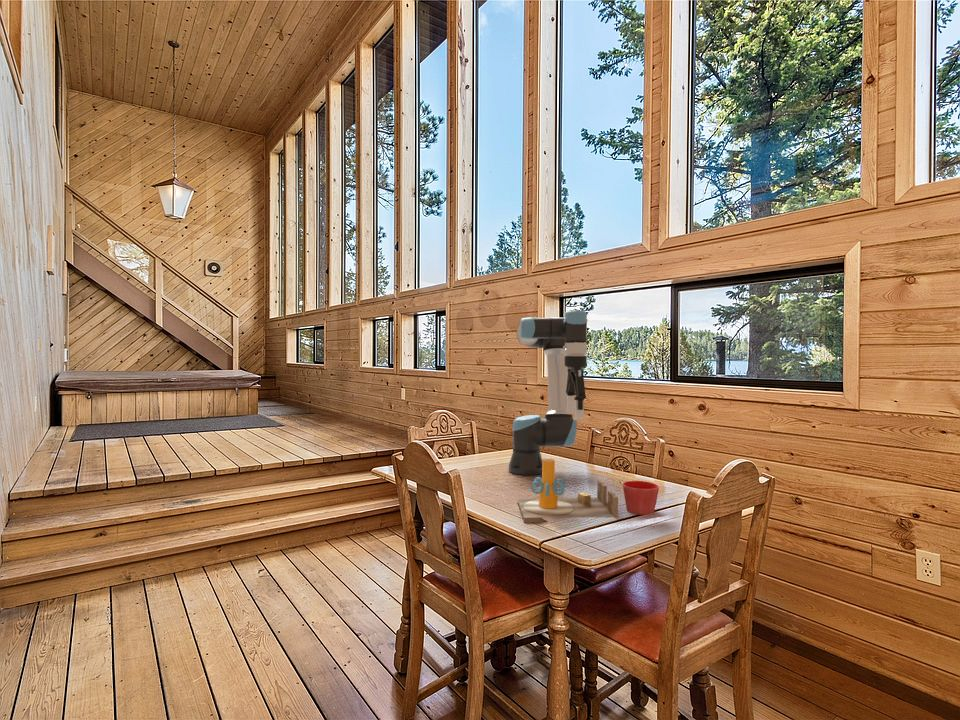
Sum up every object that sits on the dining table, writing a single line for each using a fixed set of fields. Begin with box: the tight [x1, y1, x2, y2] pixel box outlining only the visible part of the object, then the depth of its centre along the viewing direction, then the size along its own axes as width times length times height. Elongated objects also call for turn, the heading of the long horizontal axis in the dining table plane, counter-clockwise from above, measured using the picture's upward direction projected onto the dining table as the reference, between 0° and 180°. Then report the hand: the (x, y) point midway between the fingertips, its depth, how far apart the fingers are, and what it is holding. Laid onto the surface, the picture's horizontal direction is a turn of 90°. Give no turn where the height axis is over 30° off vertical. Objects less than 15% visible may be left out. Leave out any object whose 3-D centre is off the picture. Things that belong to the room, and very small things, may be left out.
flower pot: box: [622, 480, 660, 519], centre depth 167 cm, size 11×11×10 cm
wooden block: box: [577, 491, 592, 505], centre depth 174 cm, size 4×2×3 cm, turn 22°
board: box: [516, 479, 620, 524], centre depth 170 cm, size 20×29×8 cm
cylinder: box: [530, 458, 566, 509], centre depth 170 cm, size 12×10×15 cm
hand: (575, 416), depth 183 cm, fingers open, 13 cm apart
